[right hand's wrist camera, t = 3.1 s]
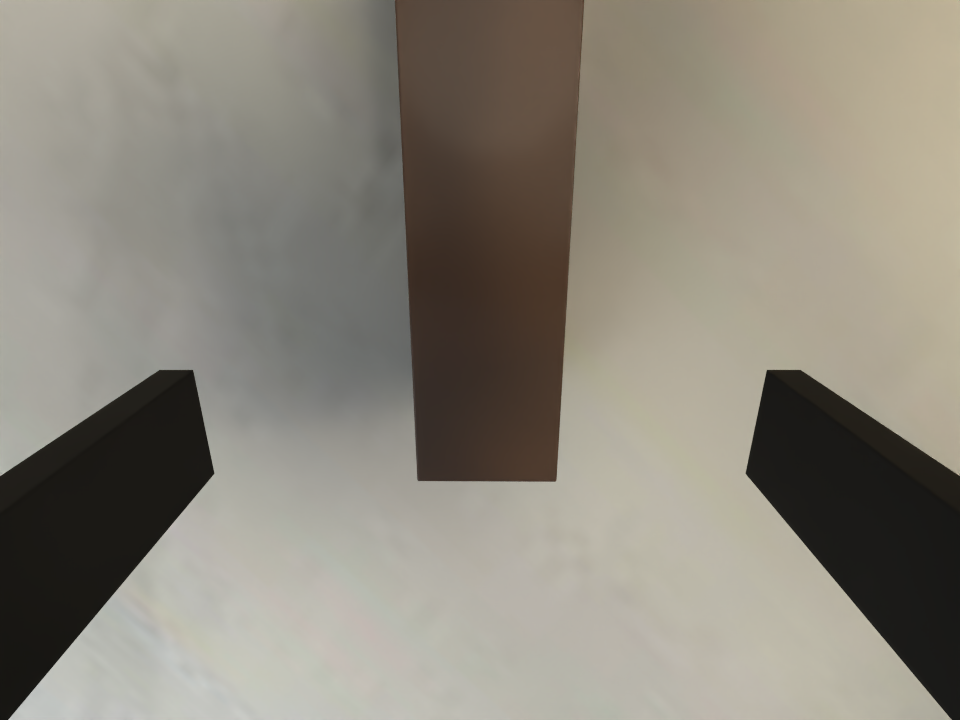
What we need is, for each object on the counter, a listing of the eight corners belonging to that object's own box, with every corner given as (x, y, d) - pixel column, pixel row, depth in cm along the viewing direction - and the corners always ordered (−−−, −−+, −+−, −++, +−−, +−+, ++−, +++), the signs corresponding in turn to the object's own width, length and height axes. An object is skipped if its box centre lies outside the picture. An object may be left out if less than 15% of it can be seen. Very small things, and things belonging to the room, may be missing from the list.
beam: (562, -316, 17) (624, -699, 9) (535, 386, 25) (556, 482, 18) (416, -315, 17) (361, -696, 9) (437, 386, 25) (417, 481, 18)
